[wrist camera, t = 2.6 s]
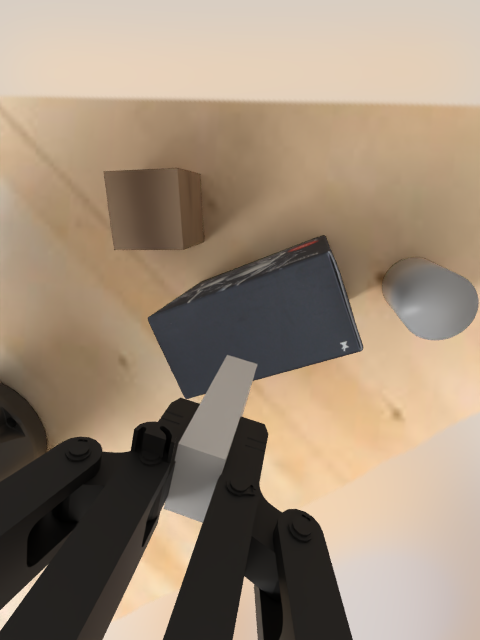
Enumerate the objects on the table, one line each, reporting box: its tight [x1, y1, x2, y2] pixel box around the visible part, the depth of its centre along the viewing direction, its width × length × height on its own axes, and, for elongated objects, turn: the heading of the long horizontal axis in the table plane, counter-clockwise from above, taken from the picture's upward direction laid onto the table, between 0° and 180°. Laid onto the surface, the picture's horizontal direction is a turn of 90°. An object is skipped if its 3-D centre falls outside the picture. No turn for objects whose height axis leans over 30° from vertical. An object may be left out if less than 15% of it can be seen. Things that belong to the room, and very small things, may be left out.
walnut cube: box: [104, 168, 204, 250], centre depth 30 cm, size 6×6×6 cm
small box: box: [148, 235, 363, 399], centre depth 28 cm, size 13×7×12 cm, turn 113°
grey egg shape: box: [382, 257, 478, 340], centre depth 28 cm, size 5×5×7 cm
